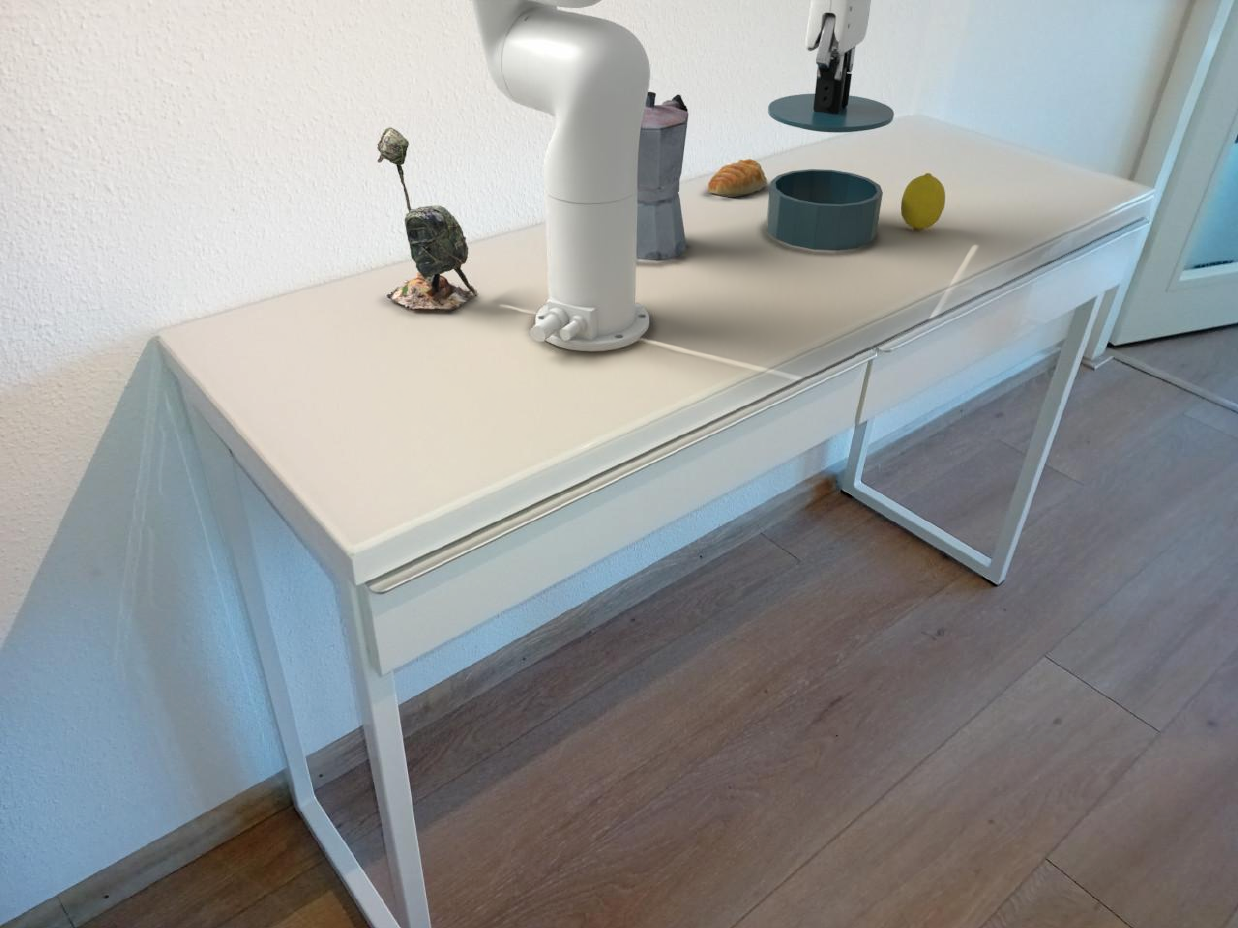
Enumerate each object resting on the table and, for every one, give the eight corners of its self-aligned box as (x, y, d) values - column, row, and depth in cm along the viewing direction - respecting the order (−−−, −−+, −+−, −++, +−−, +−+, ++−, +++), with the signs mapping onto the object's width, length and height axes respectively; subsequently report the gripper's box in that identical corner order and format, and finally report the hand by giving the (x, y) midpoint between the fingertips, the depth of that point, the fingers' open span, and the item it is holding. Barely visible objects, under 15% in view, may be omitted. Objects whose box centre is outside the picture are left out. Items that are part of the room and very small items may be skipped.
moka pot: (590, 263, 123) (588, 99, 112) (644, 224, 134) (648, 71, 123) (658, 278, 119) (663, 110, 108) (708, 236, 131) (718, 80, 119)
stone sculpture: (441, 328, 108) (421, 146, 97) (378, 299, 114) (352, 124, 103) (495, 305, 113) (483, 129, 102) (432, 278, 119) (414, 109, 108)
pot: (856, 262, 124) (864, 213, 120) (750, 241, 129) (754, 194, 126) (886, 225, 134) (894, 179, 131) (787, 208, 140) (792, 163, 136)
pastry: (733, 203, 141) (734, 177, 139) (695, 193, 145) (696, 168, 143) (769, 187, 147) (771, 162, 145) (732, 178, 151) (734, 153, 149)
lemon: (935, 225, 135) (946, 167, 130) (941, 240, 130) (953, 181, 126) (894, 223, 135) (904, 165, 131) (898, 238, 131) (909, 179, 126)
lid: (873, 144, 114) (881, 88, 110) (749, 126, 120) (753, 73, 116) (906, 112, 125) (914, 61, 121) (791, 97, 131) (796, 48, 127)
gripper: (839, -67, 119) (821, 91, 129) (795, -51, 107) (779, 121, 117) (901, -63, 116) (877, 98, 126) (862, -46, 104) (840, 130, 114)
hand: (830, 108), depth 122 cm, fingers closed on lid, 2 cm apart
